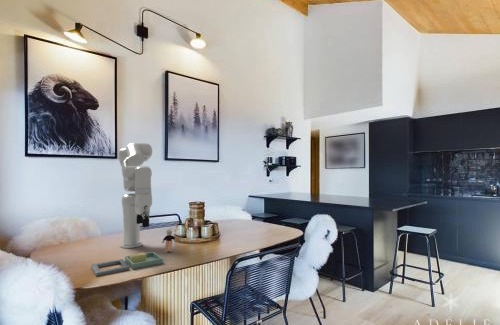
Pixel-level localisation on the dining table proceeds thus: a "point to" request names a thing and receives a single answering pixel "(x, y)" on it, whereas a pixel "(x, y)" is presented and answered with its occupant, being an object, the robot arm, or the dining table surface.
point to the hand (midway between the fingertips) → (142, 225)
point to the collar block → (98, 273)
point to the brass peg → (138, 257)
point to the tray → (150, 261)
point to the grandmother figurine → (168, 241)
